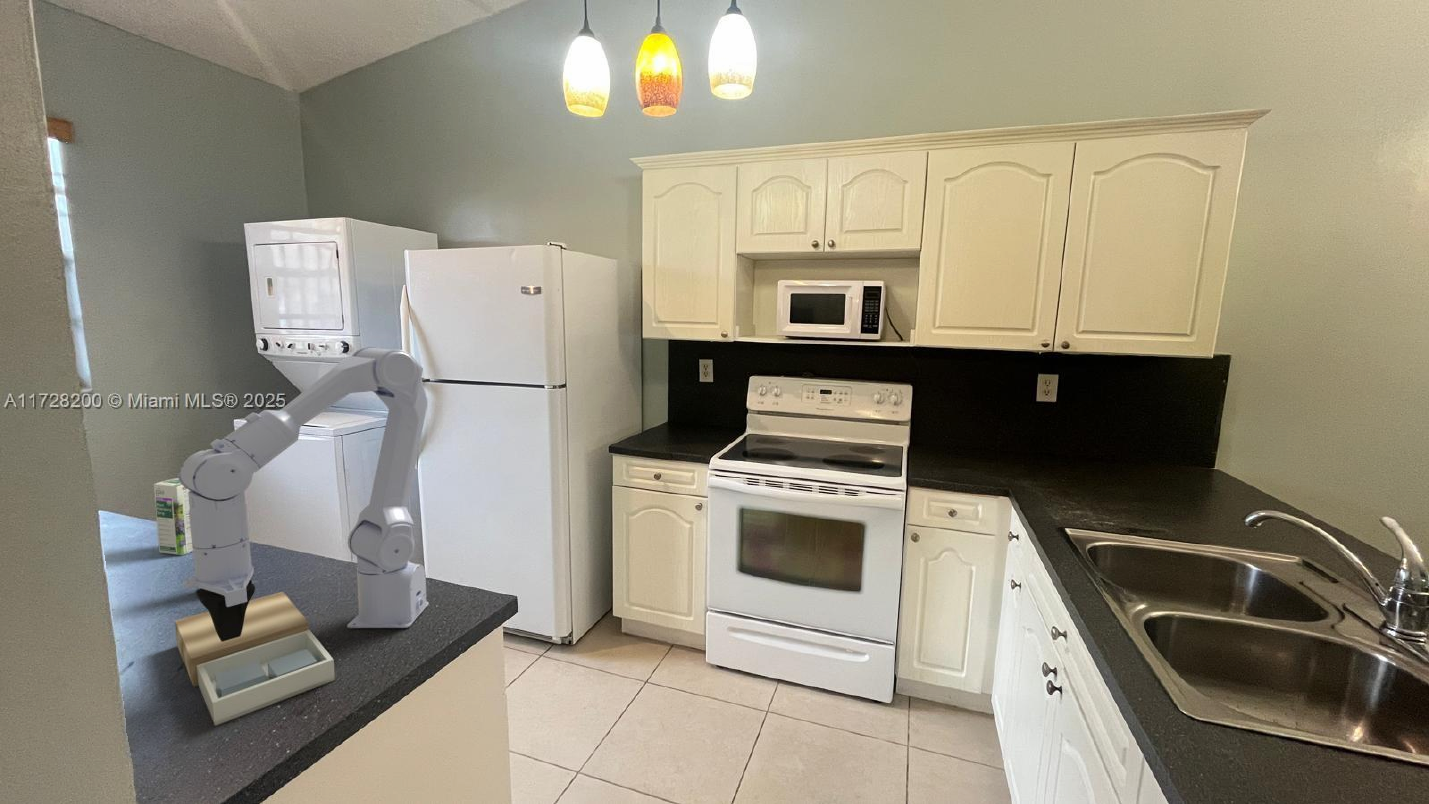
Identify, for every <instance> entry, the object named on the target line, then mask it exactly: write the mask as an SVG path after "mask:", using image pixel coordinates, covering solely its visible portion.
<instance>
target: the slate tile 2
mask: <svg viewBox="0 0 1429 804" xmlns="http://www.w3.org/2000/svg"><path fill="white" fill-rule="evenodd" d="M316 663H317V660H316V659H315V658H314V657H313V656H312V654H311V653H310V652H309V651H308V650H307V649H304V650H301V651H298V652H295V653H293V654H290V655H287V656H284V657H281V658H278V659H275V660H272V661H269V662H267V665H268V676H269V678H270V679H274V678H277V677H280V676H282V675H285V674H288V673H291V672H294V671H296V670H299V669H302V668H305V667H308V666H310V665H313V664H316Z"/></svg>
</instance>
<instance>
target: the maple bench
mask: <svg viewBox="0 0 1429 804" xmlns="http://www.w3.org/2000/svg"><path fill="white" fill-rule="evenodd" d="M174 624H175V635H176V636H175V637H176V643H177V644H176V645H177V648H178V651H179V653H180V656H181V659H182V661H183V664H184V666H185V668H186V671H187V674H188V676H189V679H190V681H191V684H192V686H193V688H194V687H199V684H198V673H197V665H199V664H202V663H206V662H209V661H212V660H215V659H218V658H221V657H224V656H228V655H231V654H234V653H237V652H240V651H243V650H247V649H250V648H253V647H256V646H259V645H262V644H265V643H269V642H272V641H275V640H278V639H281V638H284V637H287V636H291V635H294V634H297V633H300V632H303V631H306V630H310V626H309V625H310V624H309V621H308V619H306V617H305V616H304V615H303V614H302V613H301V612H300V611H299V609H298V608H297V607H296V605H294V603H293V602H292V600H291V599H290V598H289V597H288V596H287V595H286V593H285V592H284V591H280V592H276V593H273V594H269V595H265V596H261V597H258V598H254V599H250V601H249V603H248V606H247V609H246V613H245V618H244V624H243V629H242V633H241V636H240V637H236V638H233V639H230V640H226V641H223V642H221V640H220V638H219V636H218V635H217V632H216V630H215V627H214V624H213V621H212V618H211V615H210V613H209V611H205V612H202V613H198V614H195V615H194V614H193V615H191V616H186V617H183V618H179V619H175V620H174Z"/></svg>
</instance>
